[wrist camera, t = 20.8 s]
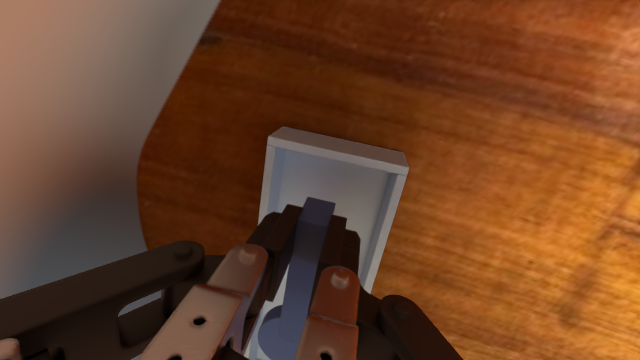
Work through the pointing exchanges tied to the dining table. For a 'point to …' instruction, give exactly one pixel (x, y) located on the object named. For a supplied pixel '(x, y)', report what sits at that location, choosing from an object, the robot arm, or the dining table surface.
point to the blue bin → (332, 194)
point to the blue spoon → (297, 283)
